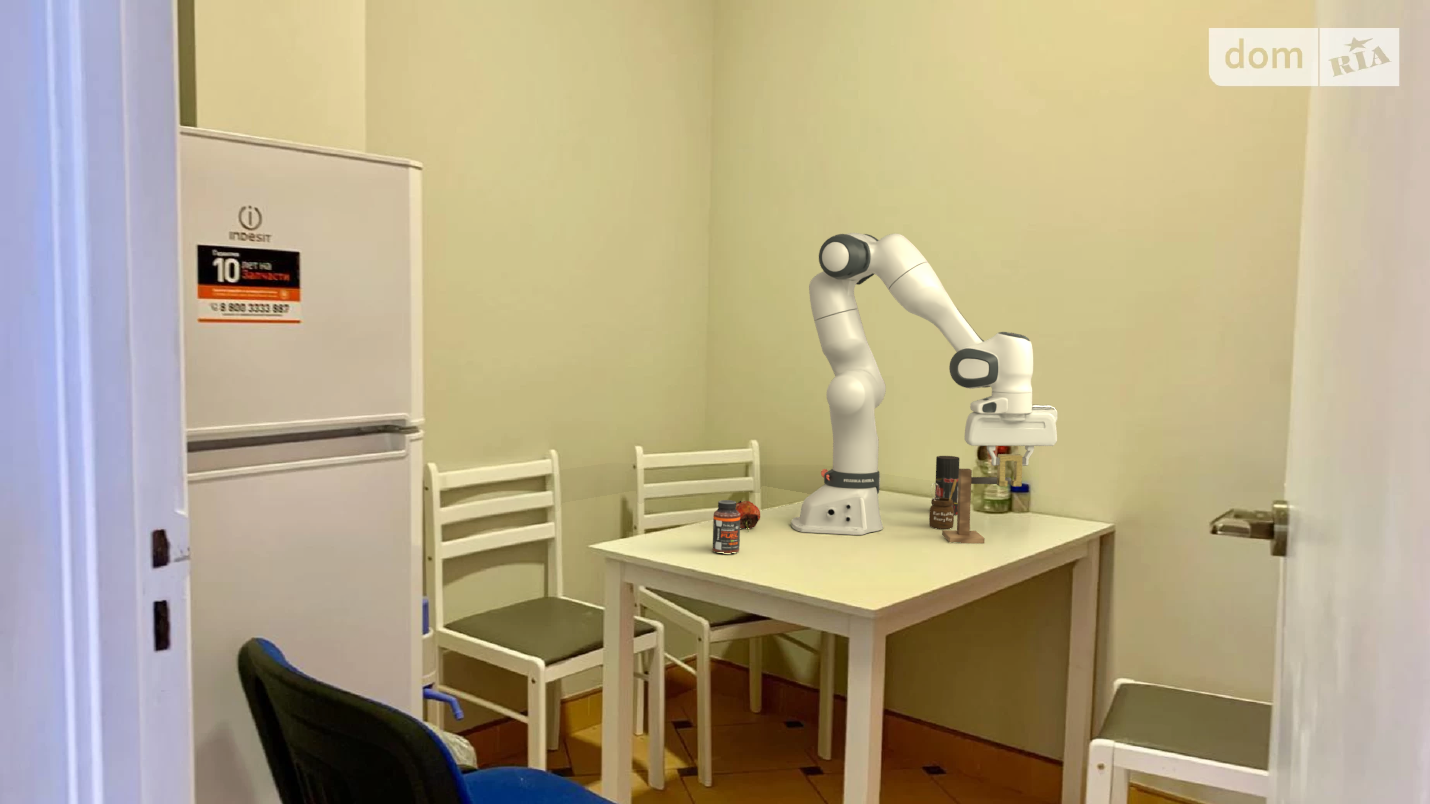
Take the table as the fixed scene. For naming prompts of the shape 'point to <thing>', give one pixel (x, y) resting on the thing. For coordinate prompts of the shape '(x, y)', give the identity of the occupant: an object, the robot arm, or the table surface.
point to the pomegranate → (748, 514)
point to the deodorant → (947, 478)
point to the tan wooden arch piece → (1017, 469)
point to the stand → (967, 508)
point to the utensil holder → (942, 511)
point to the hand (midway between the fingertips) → (1009, 465)
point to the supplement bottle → (726, 527)
